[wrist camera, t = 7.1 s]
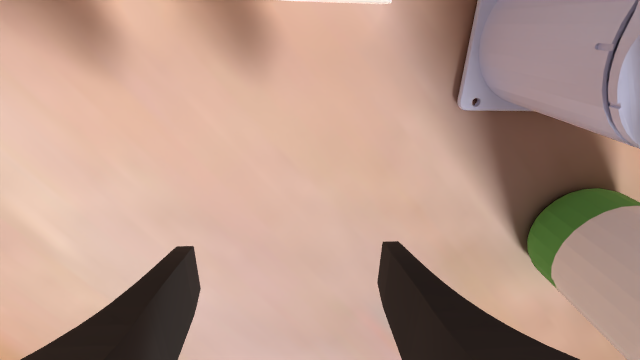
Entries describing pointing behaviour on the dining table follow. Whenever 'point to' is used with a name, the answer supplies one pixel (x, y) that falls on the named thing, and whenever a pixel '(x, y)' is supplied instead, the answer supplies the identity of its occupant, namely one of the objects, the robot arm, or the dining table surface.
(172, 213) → the dining table surface
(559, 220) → the wine bottle
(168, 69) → the dining table surface
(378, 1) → the gear board
